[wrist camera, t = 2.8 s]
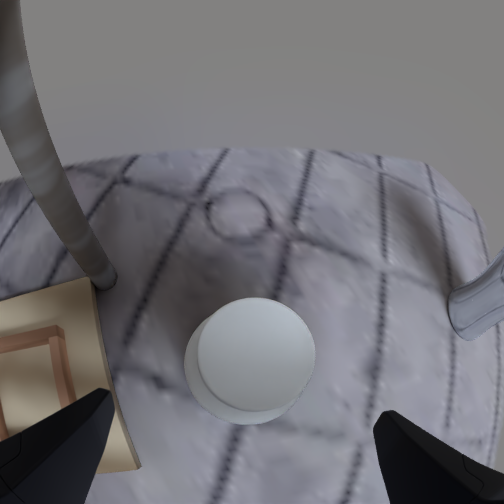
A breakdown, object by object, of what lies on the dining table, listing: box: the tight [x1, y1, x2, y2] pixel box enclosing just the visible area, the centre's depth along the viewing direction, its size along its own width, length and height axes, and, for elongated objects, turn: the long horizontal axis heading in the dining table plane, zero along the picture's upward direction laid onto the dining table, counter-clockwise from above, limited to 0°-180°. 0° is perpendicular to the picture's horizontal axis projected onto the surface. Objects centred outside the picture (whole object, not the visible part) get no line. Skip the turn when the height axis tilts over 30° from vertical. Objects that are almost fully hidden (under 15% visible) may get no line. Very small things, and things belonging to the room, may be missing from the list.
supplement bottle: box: [184, 298, 315, 425], centre depth 13 cm, size 5×5×10 cm
